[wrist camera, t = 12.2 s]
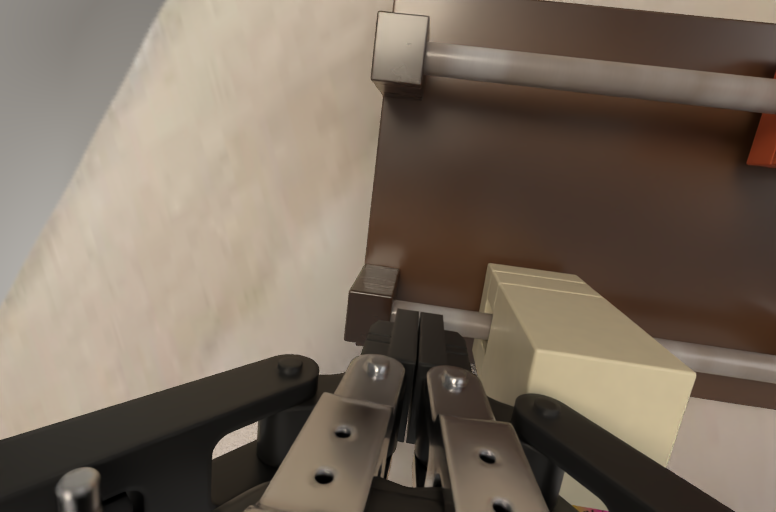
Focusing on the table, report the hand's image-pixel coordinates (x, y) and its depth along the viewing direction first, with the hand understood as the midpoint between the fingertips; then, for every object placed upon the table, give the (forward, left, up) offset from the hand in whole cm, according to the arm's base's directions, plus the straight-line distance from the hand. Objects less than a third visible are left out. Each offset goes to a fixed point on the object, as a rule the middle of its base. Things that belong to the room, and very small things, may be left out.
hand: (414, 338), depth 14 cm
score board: (-4, +8, -6) cm, 11 cm away
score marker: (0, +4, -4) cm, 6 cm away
